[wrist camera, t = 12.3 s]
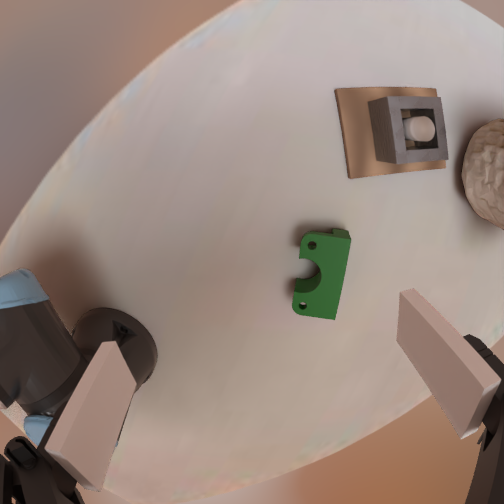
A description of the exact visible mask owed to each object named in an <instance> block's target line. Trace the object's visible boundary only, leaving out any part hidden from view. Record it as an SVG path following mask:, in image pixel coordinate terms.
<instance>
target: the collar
mask: <svg viewBox="0 0 504 504" xmlns="http://www.w3.org/2000/svg"><path fill="white" fill-rule="evenodd" d="M367 103H368V109H369V114H370V120H371V127H372V133H373V140H374V147H375V155H376V161H381V162H387V163H393V164H405V163H415V162H426V161H438V160H448V149H447V139H446V131H445V123H444V116H443V109H442V103H441V97H422V96H387V97H383V98H379V99H376V100H372V101H369V102H367ZM401 111H410V115H411V117H421V116H425V117H428V118H429V119H430V120H431V121H432V122H433V124H434V127H435V134H434V137H433V138H432V139H431V140H430V141H414V144H415V146H411V147H406V144H405V136H404V129H403V122H402V116H401Z"/></svg>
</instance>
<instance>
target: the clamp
mask: <svg viewBox="0 0 504 504" xmlns="http://www.w3.org/2000/svg"><path fill="white" fill-rule="evenodd" d="M310 241H314V242H315V243H316V245H315V246H314V245H309V244H308V243H309V242H310ZM350 243H351V238H350V235H349V232H348V231H347V230H340V229H332V233H331V234H329V233H323V232H315V231H310V232H307V233H306V234H304V236H303V237H302V240H301V246H300V254H299V259H300V258H305V259H309V260H312V261H313V262H315V263H316V264H317V265H318V266H319V268H320V271H319V273H318V274H317V275H316V276H314V277H313V278H310V279H300V278H297V280H296V285H295V290H294V296H293V303H292V308H293V310H294V312H295V313H297V314H299V315H304V316H311V317H318V318H325V319H332V320H335V317H336V313H337V309H338V304H339V300H340V295H341V290H342V285H343V280H344V276H345V270H346V265H347V260H348V255H349V249H350ZM301 302H304V303H306V304H305V305H302V304H300V303H301Z"/></svg>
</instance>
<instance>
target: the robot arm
mask: <svg viewBox="0 0 504 504" xmlns="http://www.w3.org/2000/svg"><path fill="white" fill-rule="evenodd" d="M49 299H50V298H49V296H48V295H46V294H45V292H44V290H43V289H42V287H41V285H40V284H39V282H38V280H37V279H36V277H35V275H34V274H33V273H32V272H31V271H30V270H28V269H24V268H22V269H17V270H15V271H13V272H10V273H8V274H6V275H4V276H2V277H0V409H5V410H6V409H7V408H8V407H9V406H10V405H11V404H12V403H13V402H14V401H17V403H18V404H19V405H20V406H21V407H22V408H23V410H24V411H25V412H26V413H27V415H28V416H26V418H25V419H24V430H25V432H26V434H27V436H28V437H29V438H30V439H31V440H32V441H33V442H34V443H35V444H36V445H37V446H38V447H37V449H36V448H35V447H34V446H33V445H32V444H31V442H30V441H29V440H28V439H27V438H25V437H22V436H18V437H15V438H13V439H12V440H10V441H9V442H8V444H7V445H6V447H5V449H4V454H5V455H6V457H7V458H8V459H9V460H10V461H7V460H6V459H5V458H4V457H3V456H2V455H1V454H0V504H13V503H12V497H13V498H14V499H15V500H16V504H85V503H84V501H83V499H82V497H81V495H80V492H79V491H78V490H77V488H76V487H75V486H76V483H77V482H78V483H79V484H80V485H81V486H83V487H84V488H85V489H88V490H93V491H98V492H101V490H102V486H103V483H104V479H105V476H106V473H107V470H108V466H109V463H110V460H111V457H112V454H113V452H114V450H115V447H117V445H118V441H119V438H120V434H121V431H122V428H123V425H124V421H125V418H126V415H127V412H128V409H129V406H130V403H131V400H132V397H133V394H134V393H135V392H136V391H137V390H138V389H139V388H140V387H141V385H142V384H143V383H145V382H146V381H147V380H148V379H149V378H150V376H151V375H152V373H153V371H154V368H155V365H156V362H157V349H156V345H155V343H154V341H153V339H152V337H151V335H150V334H149V332H148V331H147V330H146V329H145V328H144V327H143V326H142V325H141V324H140V323H139V322H138V321H137V320H135V319H134V318H132V317H131V316H129V315H127V314H125V313H123V312H121V311H118V310H114V309H109V308H97V309H93V310H90V311H88V312H87V313H85V314H84V315H83V316H82V317H81V318H80V320H79V321H78V322H77V323H76V325H75V327H74V329H73V332H72V337H71V335H70V334H69V332H68V331H67V329H66V328H65V326H64V324H63V323H62V321H61V319H60V318H59V316H58V315H57V313H56V311H55V309H54V308H53V306H52V304H51V302H50V300H49ZM396 341H397V342H398V343H399V345H400V346H401V348H402V349H403V351H404V352H405V354H406V355H407V356H408V358H409V359H410V361H411V362H412V364H413V365H414V367H415V368H416V370H417V371H418V373H419V374H420V376H421V377H422V379H423V380H424V382H425V383H426V385H427V386H428V388H429V389H430V391H431V392H432V394H433V395H434V397H435V399H436V400H437V402H438V403H439V405H440V406H441V408H442V410H443V411H444V413H445V414H446V416H447V418H448V419H449V421H450V422H451V424H452V426H453V427H454V429H455V431H456V432H457V434H458V435H459V437H460V439H463V438H465V437H467V436H468V435H470V434H472V433H474V432H476V431H477V429H478V428H479V426H480V424H481V422H483V423H484V425H485V426H486V428H485V430H484V432H483V433H482V435H481V437H480V439H479V441H478V443H477V444H480V442H481V441H482V443H481V448H480V452H479V456H478V461H477V465H476V468H475V472H474V476H473V480H472V483H471V486H470V489H469V493H468V496H467V499H466V502H465V504H504V364H503V363H502V362H501V361H500V360H499V359H498V358H497V357H496V355H493V352H492V351H491V350H490V349H489V348H487V346H486V345H485V344H484V343H483V342H482V341H481V340H480V339H478V338H476V337H474V336H472V335H470V334H469V335H466V336H464V337H462V336H461V335H460V334H459V332H458V331H457V330H456V329H455V328H454V327H453V326H452V325H451V324H450V323H449V322H448V321H447V320H446V319H445V318H444V317H443V316H442V315H441V314H440V313H439V312H438V311H437V310H436V309H435V308H434V307H433V306H432V305H431V304H430V303H429V302H428V301H427V300H426V299H425V298H424V297H423V296H421V295H420V294H419V293H418V292H417V291H416V290H415V289H414V288H413V289H410V290H406V291H402V292H400V299H399V316H398V329H397V340H396Z"/></svg>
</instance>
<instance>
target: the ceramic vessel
mask: <svg viewBox="0 0 504 504" xmlns="http://www.w3.org/2000/svg"><path fill="white" fill-rule="evenodd" d="M461 176H462V180H463V184H464V189H465V193H466V197H467V199H468V201H469V203H470V204H471V206H472V208H473V209H474V211H475V212H476V213H477V214H478V215H479V216H480V217H482V218H484V219H486V220H488V221H490V222H491V223H493V224H495V225H496V226H498V227H500V228H502V229H504V119H496V120H493V121H491V122H489V123H488V124H486V125H484V126H482V127H481V128H480V129H478V130H477V131H476V132H475V133H474V135H473V136H472V138H471V140H470V141H469V144H468V147H467V150H466V153H465V156H464V162H463V168H462V174H461Z"/></svg>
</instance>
